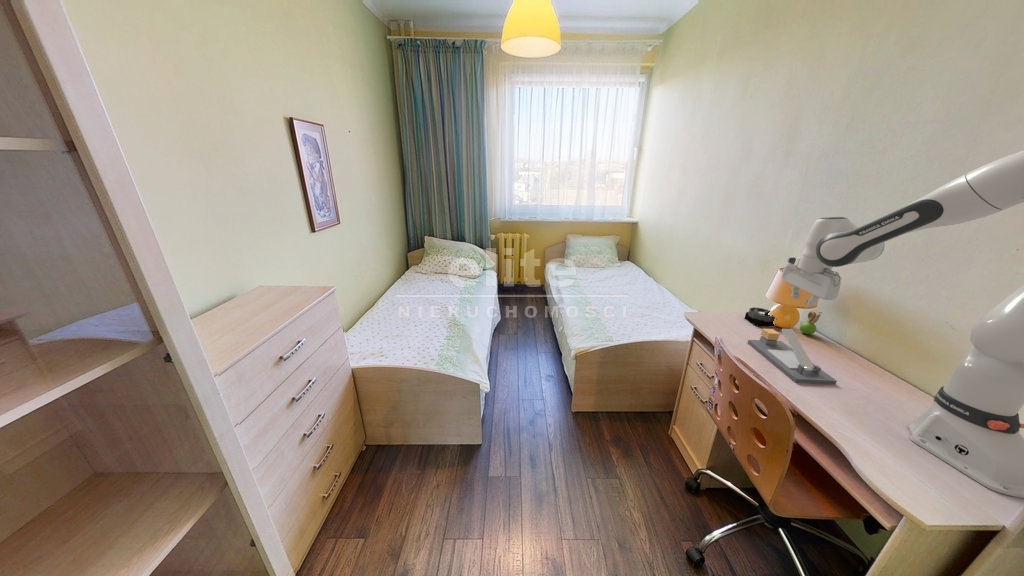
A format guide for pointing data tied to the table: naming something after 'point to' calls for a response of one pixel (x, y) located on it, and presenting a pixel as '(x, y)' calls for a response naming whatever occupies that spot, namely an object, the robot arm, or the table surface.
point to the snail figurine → (810, 323)
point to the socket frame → (789, 362)
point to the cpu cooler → (759, 317)
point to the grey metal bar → (798, 350)
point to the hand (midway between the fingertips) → (801, 301)
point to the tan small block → (770, 334)
